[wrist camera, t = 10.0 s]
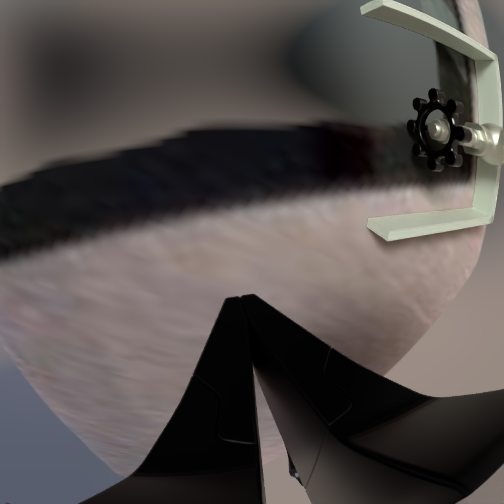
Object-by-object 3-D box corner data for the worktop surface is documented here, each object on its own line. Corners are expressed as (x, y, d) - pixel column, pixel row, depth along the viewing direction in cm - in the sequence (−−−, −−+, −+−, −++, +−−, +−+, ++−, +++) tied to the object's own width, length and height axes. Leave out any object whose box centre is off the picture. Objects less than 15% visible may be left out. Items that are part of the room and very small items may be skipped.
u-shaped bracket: (474, 213, 25) (492, 223, 22) (367, 227, 22) (387, 241, 20) (477, 55, 16) (497, 55, 14) (360, 7, 14) (381, -4, 11)
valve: (479, 112, 20) (405, 88, 18) (526, 121, 14) (464, 88, 12) (476, 169, 22) (405, 163, 21) (521, 186, 17) (462, 181, 15)
